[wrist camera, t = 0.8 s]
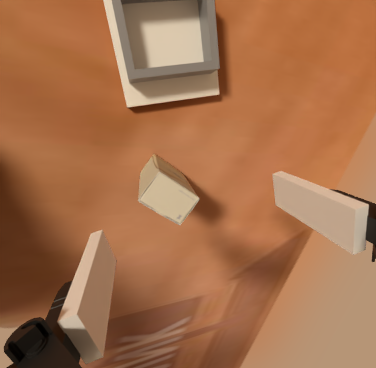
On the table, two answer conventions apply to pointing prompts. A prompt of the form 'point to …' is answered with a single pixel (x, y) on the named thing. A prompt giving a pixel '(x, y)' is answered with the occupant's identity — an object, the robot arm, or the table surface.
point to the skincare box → (166, 190)
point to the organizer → (165, 49)
